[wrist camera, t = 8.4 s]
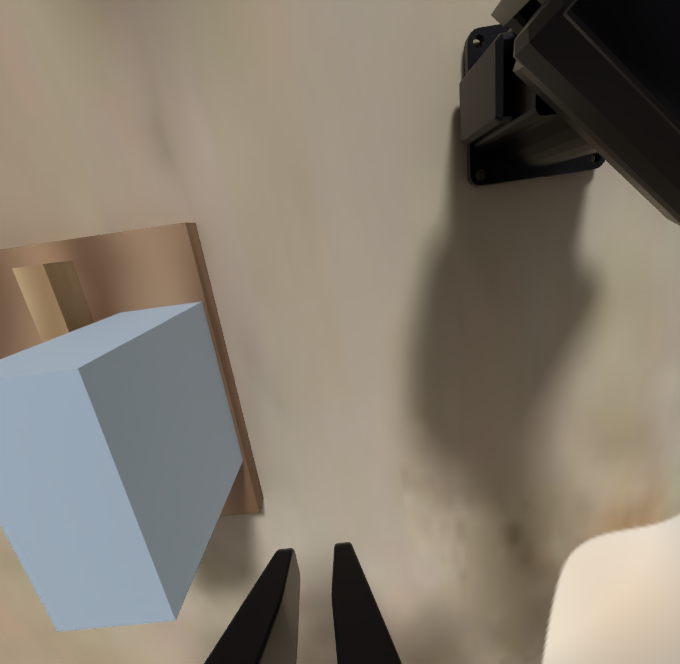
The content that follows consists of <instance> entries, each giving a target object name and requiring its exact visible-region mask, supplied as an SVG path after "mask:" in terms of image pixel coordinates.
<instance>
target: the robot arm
mask: <svg viewBox="0 0 680 664" xmlns="http://www.w3.org/2000/svg"><path fill="white" fill-rule="evenodd" d="M491 15H492V16H493V17H494V18H495V19H496V20H497V21H498V22H499V23H500V24H499V25H493V26H487V27H481V28H477V29H475V30H473V31H472V32H471V33H470V35H469V36H468V38H467V40H466V42H465V46H464V56H465V77H464V78H463V79H462V81H461V82H460V85H459V87H460V120H461V141H462V142H463V143H464V145H467V169H468V181H469V183H470V184H471V185H473V186H477V187H478V186H485V185H492V184H499V183H506V182H512V181H519V180H526V179H533V178H540V177H547V176H554V175H561V174H567V173H574V172H581V171H588V170H593V169H596V168H599V167H600V166H601V165H602V164H603V163H604V161H605V160H606V161H607V162H608V163H609V164H610V165H611V166H612V167H614V168H615V169H616V170H617V171H618V172H619V173H620V174H621V175H622V176H623V177H624V178H625V179H626V180H627V181H628V182H629V183H630V184H631V185H632V186H633V187H634V188H636V189H637V190H638V191H639V192H640V193H641V194H642V195H643V196H644V197H645V198H646V199H647V200H648V201H649V202H650V203H651V204H652V205H653V206H654V207H655V208H656V209H658V210H659V211H660V212H661V213H662V214H663V215H664V216H665V217H666V218H667V219H669V220H670V221H672V222H674V223H676V224H678V225H679V226H680V0H501V1H500V3H499V4H498V6H497V7H496V9H495V10H494V11H493V13H492V14H491ZM474 39H478V40H479V41H480V43H481V48H475V47H474V45H473V40H474ZM592 154H593V155H594V156H595V160H594V162H593V163H591V162H590V156H591V155H592ZM478 170H479V171H481V172H482V173H483V177H482V179H481V180H478V179H476V176H475V175H476V172H477V171H478ZM299 598H300V572H299V567H298V563H297V559H296V554H295V551H294V549H292V548H287V549H279V550H278V551H276V553H275V554H274V556H273V557H272V559H271V560H270V562H269V563H268V565H267V567H266V568H265V570H264V571H263V573H262V574H261V576H260V577H259V579H258V581H257V582H256V584H255V585H254V587H253V588H252V590H251V591H250V593H249V595H248V596H247V598H246V599H245V601H244V602H243V604H242V605H241V607H240V609H239V610H238V612H237V613H236V615H235V616H234V618H233V619H232V621H231V623H230V624H229V626H228V627H227V629H226V630H225V632H224V634H223V635H222V637H221V638H220V640H219V641H218V643H217V644H216V646H215V648H214V649H213V651H212V652H211V654H210V655H209V657H208V658H207V660H206V662H205V663H204V664H296V660H297V645H298V622H299ZM332 608H333V619H334V630H335V641H336V651H337V662H338V664H402V662H401V660H400V658H399V655H398V653H397V651H396V648H395V646H394V644H393V641H392V639H391V636H390V634H389V632H388V629H387V627H386V625H385V622H384V620H383V617H382V615H381V613H380V610H379V608H378V606H377V603H376V601H375V599H374V596H373V594H372V591H371V589H370V587H369V584H368V582H367V580H366V577H365V575H364V573H363V570H362V568H361V565H360V563H359V561H358V558H357V556H356V554H355V551H354V549H353V546H352V544H351V543H350V542H345V543H337V544H335V547H334V561H333V577H332Z"/></svg>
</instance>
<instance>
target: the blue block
mask: <svg viewBox="0 0 680 664" xmlns="http://www.w3.org/2000/svg"><path fill="white" fill-rule="evenodd" d="M242 462H243V458H242V454H241V450H240V446H239V442H238V439H237V435H236V431H235V427H234V423H233V419H232V415H231V412H230V408H229V404H228V400H227V396H226V392H225V388H224V384H223V381H222V377H221V373H220V369H219V365H218V361H217V357H216V353H215V350H214V346H213V342H212V338H211V334H210V330H209V326H208V322H207V319H206V315H205V311H204V307H203V303H202V302H195V303H187V304H180V305H173V306H165V307H158V308H151V309H143V310H136V311H129V312H121V313H118V314H115V315H113V316H110V317H108V318H105V319H103V320H100V321H97V322H95V323H92V324H90V325H87V326H85V327H82V328H80V329H77V330H74V331H72V332H69V333H67V334H64V335H62V336H59V337H56V338H54V339H51V340H49V341H46V342H44V343H41V344H38V345H36V346H33V347H31V348H28V349H26V350H23V351H20V352H18V353H15V354H13V355H10V356H8V357H5V358H3V359H0V525H1V527H2V529H3V531H4V533H5V535H6V537H7V538H8V540H9V542H10V544H11V546H12V548H13V550H14V551H15V553H16V555H17V557H18V559H19V561H20V563H21V565H22V566H23V568H24V570H25V572H26V574H27V576H28V578H29V579H30V581H31V583H32V585H33V587H34V589H35V591H36V593H37V594H38V596H39V598H40V600H41V602H42V604H43V606H44V608H45V609H46V611H47V613H48V615H49V617H50V619H51V621H52V622H53V624H54V626H55V628H56V630H57V632H60V631H71V630H81V629H92V628H102V627H113V626H123V625H134V624H144V623H155V622H165V621H176V618H177V616H178V614H179V611H180V609H181V607H182V604H183V602H184V599H185V597H186V595H187V592H188V590H189V588H190V585H191V583H192V580H193V578H194V576H195V573H196V571H197V569H198V566H199V564H200V561H201V559H202V557H203V554H204V552H205V550H206V547H207V545H208V542H209V540H210V538H211V535H212V533H213V531H214V528H215V526H216V523H217V521H218V519H219V516H220V514H221V512H222V509H223V507H224V504H225V502H226V500H227V497H228V495H229V492H230V490H231V488H232V485H233V483H234V481H235V478H236V476H237V473H238V471H239V469H240V466H241V464H242Z"/></svg>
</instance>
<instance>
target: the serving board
mask: <svg viewBox="0 0 680 664" xmlns="http://www.w3.org/2000/svg"><path fill="white" fill-rule="evenodd" d="M195 302H202V303H203V307H204V311H205V315H206V319H207V322H208V326H209V330H210V334H211V338H212V342H213V346H214V350H215V353H216V357H217V361H218V365H219V369H220V373H221V377H222V381H223V384H224V388H225V392H226V396H227V400H228V404H229V408H230V412H231V415H232V419H233V423H234V427H235V431H236V435H237V439H238V442H239V446H240V450H241V454H242V458H243V462H242V464H241V466H240V469H239V471H238V473H237V476H236V478H235V481H234V483H233V485H232V488H231V490H230V492H229V495H228V497H227V500H226V502H225V504H224V507H223V509H222V512H221V514H220V516H227V515H236V514H246V513H255V512H259V511H260V508H261V504H262V501H263V495H262V491H261V487H260V483H259V479H258V475H257V471H256V467H255V463H254V458H253V454H252V450H251V446H250V442H249V438H248V434H247V430H246V426H245V422H244V418H243V414H242V410H241V406H240V402H239V398H238V394H237V390H236V386H235V382H234V378H233V374H232V370H231V366H230V362H229V357H228V353H227V349H226V345H225V341H224V337H223V333H222V329H221V325H220V321H219V317H218V313H217V309H216V305H215V301H214V297H213V293H212V289H211V285H210V281H209V277H208V273H207V269H206V265H205V260H204V256H203V252H202V248H201V244H200V240H199V236H198V232H197V228H196V224H195V223H180V224H173V225H166V226H159V227H152V228H146V229H139V230H132V231H125V232H118V233H111V234H105V235H98V236H91V237H84V238H77V239H71V240H64V241H57V242H50V243H43V244H36V245H30V246H23V247H16V248H9V249H2V250H0V359H3V358H5V357H8V356H10V355H13V354H15V353H18V352H20V351H23V350H26V349H28V348H31V347H33V346H36V345H38V344H41V343H44V342H46V341H49V340H51V339H54V338H56V337H59V336H62V335H64V334H67V333H69V332H72V331H74V330H77V329H80V328H82V327H85V326H87V325H90V324H92V323H95V322H97V321H100V320H103V319H105V318H108V317H110V316H113V315H115V314H118V313H121V312H129V311H136V310H143V309H151V308H158V307H165V306H173V305H180V304H187V303H195Z"/></svg>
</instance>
